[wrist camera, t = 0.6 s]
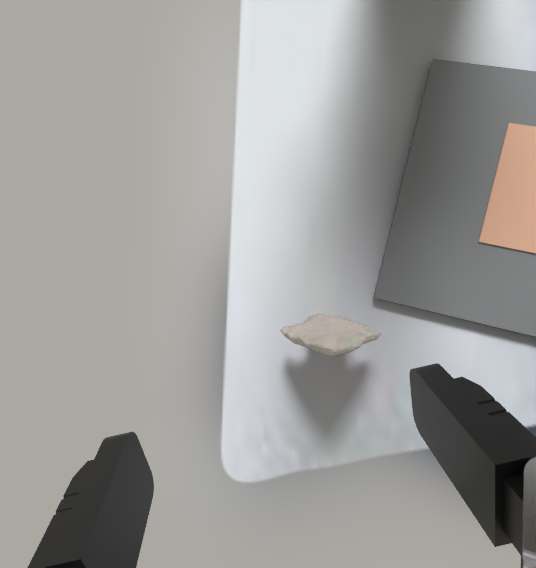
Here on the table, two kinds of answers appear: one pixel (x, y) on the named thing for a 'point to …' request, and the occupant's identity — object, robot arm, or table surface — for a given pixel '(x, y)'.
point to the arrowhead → (330, 334)
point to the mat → (469, 201)
